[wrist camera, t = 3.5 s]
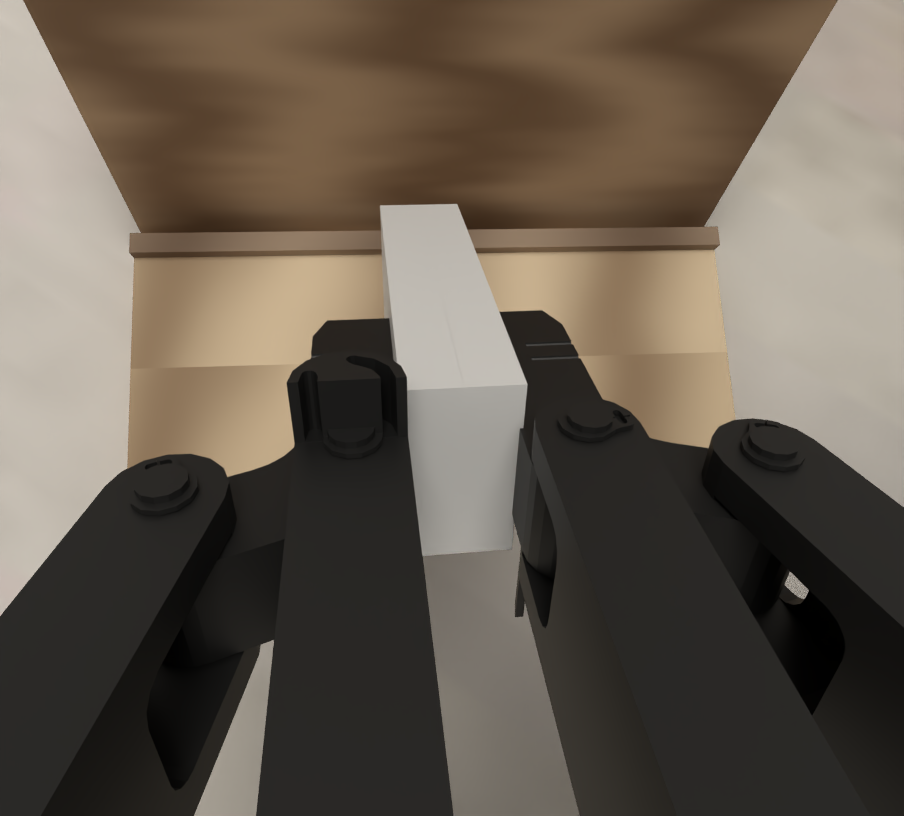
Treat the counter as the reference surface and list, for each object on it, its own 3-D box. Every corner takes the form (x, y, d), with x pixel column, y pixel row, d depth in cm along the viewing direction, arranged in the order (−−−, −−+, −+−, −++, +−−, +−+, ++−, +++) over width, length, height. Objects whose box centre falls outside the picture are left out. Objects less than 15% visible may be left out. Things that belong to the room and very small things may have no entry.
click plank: (689, 200, 24) (962, -311, 12) (699, 234, 23) (996, -269, 12) (150, 203, 22) (-119, -380, 11) (145, 241, 22) (-147, -336, 10)
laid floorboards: (692, 250, 24) (717, 226, 22) (720, 483, 23) (749, 478, 21) (151, 258, 22) (129, 233, 21) (144, 510, 21) (120, 507, 19)
